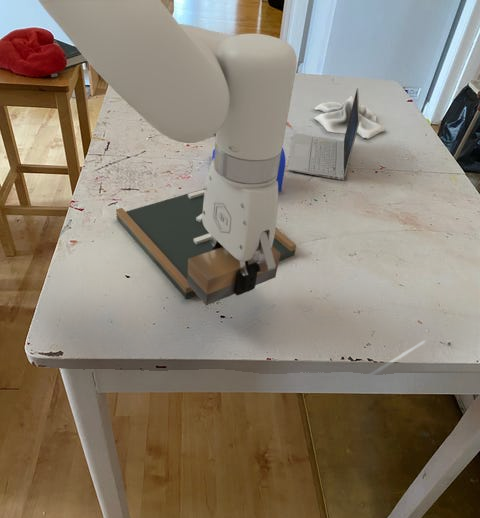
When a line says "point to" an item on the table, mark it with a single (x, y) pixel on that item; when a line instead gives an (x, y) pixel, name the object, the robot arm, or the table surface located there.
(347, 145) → the laptop
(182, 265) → the slate board
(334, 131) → the cloth
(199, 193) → the off-white bar
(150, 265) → the table surface
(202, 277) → the eraser
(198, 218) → the chalk stroke
